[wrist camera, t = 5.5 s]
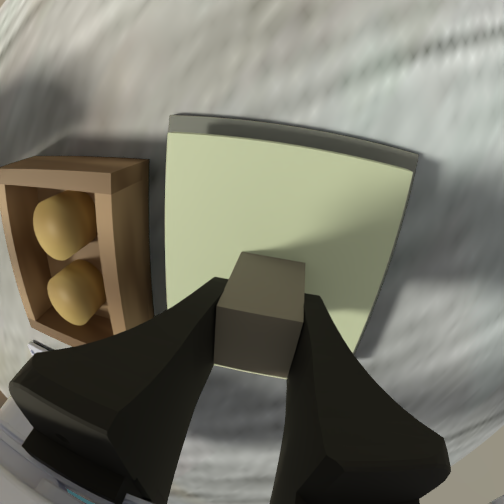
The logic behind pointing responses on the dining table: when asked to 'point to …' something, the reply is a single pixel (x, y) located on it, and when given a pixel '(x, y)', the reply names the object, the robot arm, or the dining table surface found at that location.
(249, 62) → the dining table surface
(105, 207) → the box
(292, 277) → the lid
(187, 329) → the robot arm
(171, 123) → the mat
